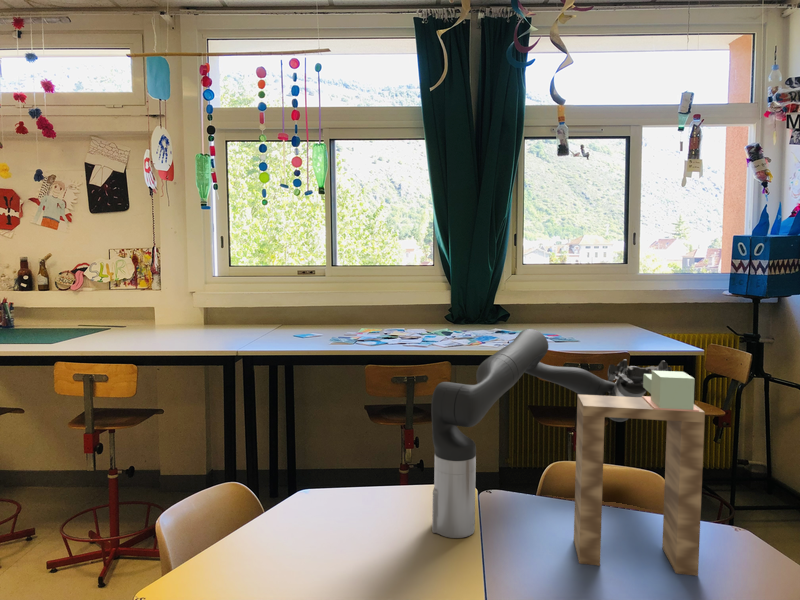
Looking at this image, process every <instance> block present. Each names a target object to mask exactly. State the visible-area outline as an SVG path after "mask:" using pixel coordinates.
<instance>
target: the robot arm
mask: <svg viewBox="0 0 800 600" xmlns="http://www.w3.org/2000/svg"><path fill="white" fill-rule="evenodd" d="M548 351H549V341H548V339H547V337H546V336H545V335H544V334H543V333H542V332H541V331H538V330H536V329H534V328H533V329H532V328H527V329H523V330H522V331H520V332H519V333H518V335H517V336H516V337H515V338H514V339H513V340H512V342H511V343H509V344H507V345H505V346H504V347H502V348H501V349H499V350H497V351H496V352H495V353H493V354H491V355H490V356H489V357H487V358H485V360H483V361H482V362H481V363H480V364H479V366H478V368H477V369H476V377H475V378H476V384H465V383H458V382H457V383H456V382H452V381H451V382H450V381H441V382H440V383H437V384H436V386H435V388H434V391H433V393H432V397H431V410H430V411H431V431H432V434H431V435H432V444H433V447H434V448H433V449H434V469H433V470H434V473H433V474H434V478H433V479H434V480H433V482H434V483H433V485H434V486H433V490H432V520H431V521H432V523H431V524H432V525H431V526H432V527H431V528H432V530H431V532H432V533H434V534H438V535H441V536H442V537H446V538H449V539H450V538H451V539H462V538H467V537H469V536H471V535H473V534H474V533H475V530H476V529H475V527H476V526H475V524H476V518H475V517H476V475H477V474H476V470H477V467H476V466H477V463H476V462H477V460H476V459H477V447H476V443H475V441H474V440H473V439H471V438H470V437H469V436H467V435H466V434H464V432H462V431H461V430H460V428H458V427H463V428H472V427H474V426H476V425H477V424H479V423H480V422H481V421H482V419H484V417H485V416H486V414H487V413H488V411H489V410H490V409H491V408H492V407H493V405H494V404H495V403H496V402H497V401H498V400H499V399H500V398H501V397H502V396H503V395H504V394H505V393H506V392H507V391H509V390H510V389H511V388H512V387H513V386H515V384H517V383H518V381H519V379H521V377H522V376H523V374H524V373H525V374H528V375H530V376H533V377H536V378H539V379H540V380H544V381H547V382H549V383H550V382H551V383H553V384H555V385H558V386H561V387H564V388H566V389H568V390H570V391H572V392H575V393H576V394H577V395H578V394H580V395H601V396H607V393H608V396H621V397H642V396H645V395H646V393H647V392H648V391H647V390H646V389H645V388H644V387H643V378H644V374H652V371H672V366H669V365H668V362H666V361H665V360H661V361H660V363H659V364H658V365H657V366H654V365H651V366H646V367H640V366H635V365H630V366H629V365H628V360H627V359H626V358H625V359H623V360H622V361H620V362H619V363H618V364H617V365H615V364H609V365H608V369H607V380H606V379H604V378H601V377H599V376H598V375H595V374H594V373H592V372H590V371H589V370H586V369H583V368H580V367H574V366H558V365H557V366H556V365H549V364H546V363H543V362H541V361H542V360H543V358H544V357H545V356H546V355H547V353H548ZM615 380H616V381H615ZM613 381H615V382H613ZM608 418H609V420H612V421H614V422H617V423H622V422H625V421H628V420H629V419H630V418H614V417H608Z"/></svg>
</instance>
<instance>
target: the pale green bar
mask: <svg viewBox="0 0 800 600" xmlns="http://www.w3.org/2000/svg"><path fill="white" fill-rule="evenodd" d="M695 381H696V380H695V378H694V377H693V376H692V375H689V374H688V373H687V372H685V371H677V370H675V371H674V370H673V371H672V370H671V371H659V370H657V371H652V374H644V378H643V387H644V388H645V389H646V390H647V391H646V392H648V393H649V394H650V396H651V400H652V401H653V402H654V403H655V404H656V405H657V406H658V407H659V408H667V409H687V410H693V409H694V404H695Z"/></svg>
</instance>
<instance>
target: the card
mask: <svg viewBox="0 0 800 600" xmlns="http://www.w3.org/2000/svg"><path fill="white" fill-rule="evenodd" d="M642 398H643V399H644V400H645V401H646V402H647V403H648V404H649V405H650V406H651V407H652V408H653V409H655V410H674V411H693V412H699V410H698V409H697V408H696V407H694V409H693V410H687V409H667V408H659V407H658V406H657V405H656V404H655V403H654V402H653V401H652V400H651V395H649V396H648V395H646V396H645V395H643V396H642Z"/></svg>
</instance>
